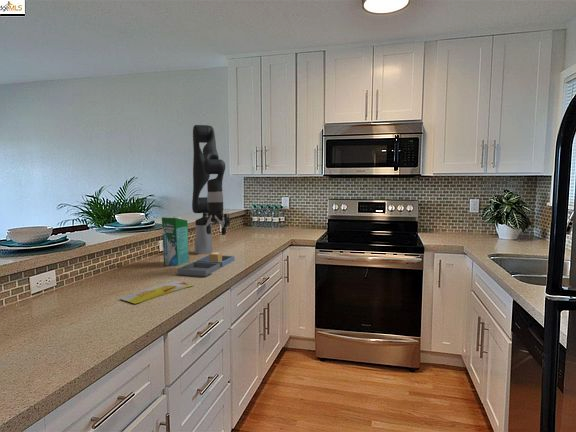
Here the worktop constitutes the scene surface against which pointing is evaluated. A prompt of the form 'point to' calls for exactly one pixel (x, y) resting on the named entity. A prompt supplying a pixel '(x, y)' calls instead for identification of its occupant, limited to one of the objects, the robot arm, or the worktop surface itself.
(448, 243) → the worktop surface
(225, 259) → the slate-blue tray
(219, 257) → the orange cube
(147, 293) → the food package
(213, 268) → the charcoal tray
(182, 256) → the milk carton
